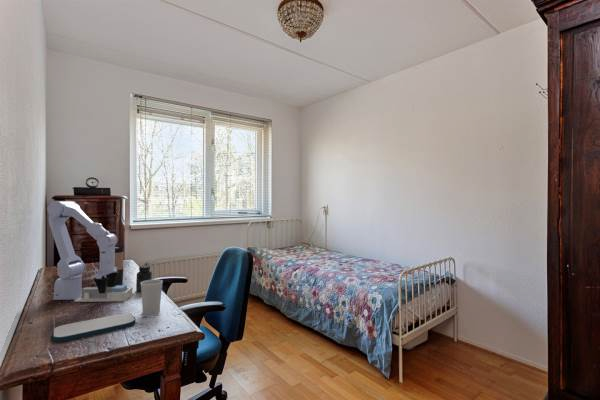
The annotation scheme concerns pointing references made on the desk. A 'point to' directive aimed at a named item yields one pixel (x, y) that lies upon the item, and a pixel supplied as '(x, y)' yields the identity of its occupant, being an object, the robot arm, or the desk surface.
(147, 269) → the supplement bottle
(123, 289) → the blue-capped grey bar
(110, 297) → the slider rail
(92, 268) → the desk surface
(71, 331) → the white teal rounded slab
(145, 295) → the cup
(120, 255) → the travel mug
